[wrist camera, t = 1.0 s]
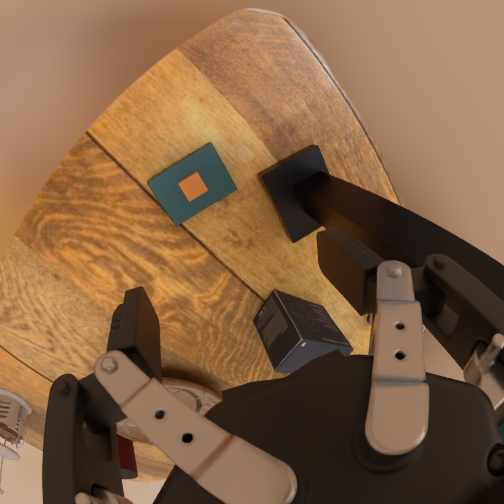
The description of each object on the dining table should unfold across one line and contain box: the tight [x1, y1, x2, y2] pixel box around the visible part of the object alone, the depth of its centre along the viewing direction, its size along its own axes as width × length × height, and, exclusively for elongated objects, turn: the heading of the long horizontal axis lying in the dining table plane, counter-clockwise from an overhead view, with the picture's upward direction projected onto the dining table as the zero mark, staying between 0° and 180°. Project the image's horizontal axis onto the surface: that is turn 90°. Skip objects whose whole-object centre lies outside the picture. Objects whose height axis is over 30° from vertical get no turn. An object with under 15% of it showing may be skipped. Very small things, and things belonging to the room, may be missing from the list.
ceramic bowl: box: [116, 377, 222, 445], centre depth 43 cm, size 23×24×5 cm
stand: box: [257, 145, 504, 427], centre depth 21 cm, size 10×9×32 cm
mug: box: [117, 434, 138, 479], centre depth 42 cm, size 12×9×11 cm
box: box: [253, 290, 353, 374], centre depth 39 cm, size 11×7×10 cm, turn 59°
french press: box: [0, 390, 32, 494], centre depth 26 cm, size 10×12×25 cm
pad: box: [147, 142, 237, 226], centre depth 29 cm, size 6×8×2 cm
